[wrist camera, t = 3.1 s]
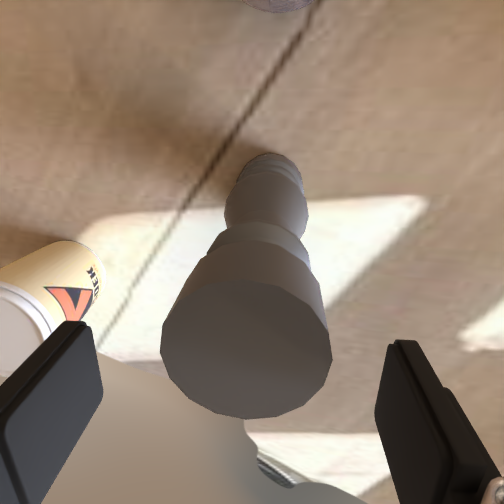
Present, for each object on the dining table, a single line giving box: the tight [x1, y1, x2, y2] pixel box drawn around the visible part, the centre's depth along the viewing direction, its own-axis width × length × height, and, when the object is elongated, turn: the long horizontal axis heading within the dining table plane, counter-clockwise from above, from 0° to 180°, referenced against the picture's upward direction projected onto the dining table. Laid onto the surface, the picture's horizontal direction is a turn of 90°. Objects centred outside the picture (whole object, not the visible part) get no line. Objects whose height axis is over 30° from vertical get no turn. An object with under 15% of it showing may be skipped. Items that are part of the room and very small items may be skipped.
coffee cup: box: [0, 241, 106, 377], centre depth 35 cm, size 9×9×12 cm
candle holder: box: [160, 153, 333, 419], centre depth 23 cm, size 6×6×25 cm
